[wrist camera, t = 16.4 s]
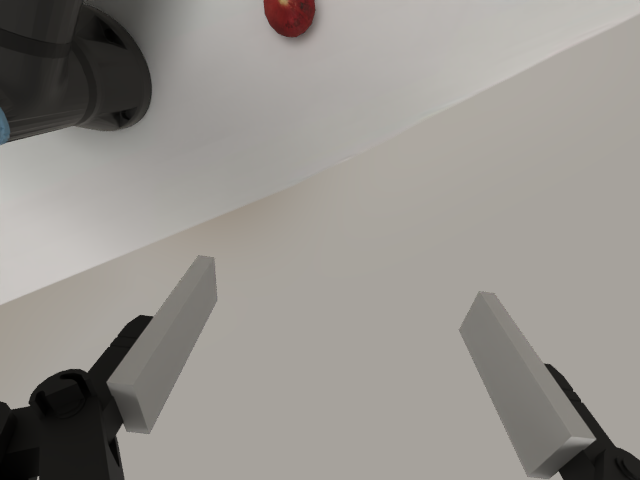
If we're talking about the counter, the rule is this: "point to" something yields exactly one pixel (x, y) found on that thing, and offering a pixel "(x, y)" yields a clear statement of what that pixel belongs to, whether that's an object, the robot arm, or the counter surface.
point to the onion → (289, 16)
